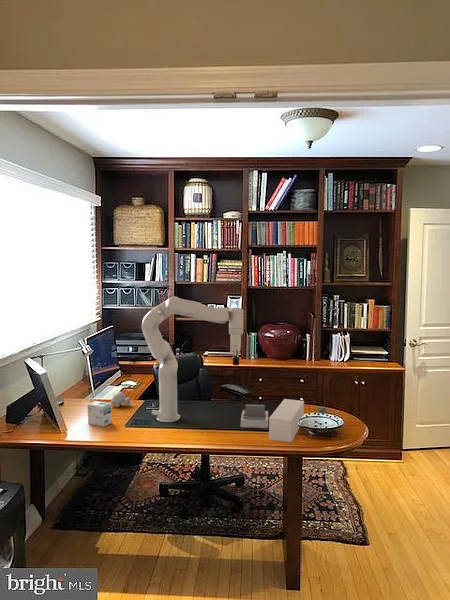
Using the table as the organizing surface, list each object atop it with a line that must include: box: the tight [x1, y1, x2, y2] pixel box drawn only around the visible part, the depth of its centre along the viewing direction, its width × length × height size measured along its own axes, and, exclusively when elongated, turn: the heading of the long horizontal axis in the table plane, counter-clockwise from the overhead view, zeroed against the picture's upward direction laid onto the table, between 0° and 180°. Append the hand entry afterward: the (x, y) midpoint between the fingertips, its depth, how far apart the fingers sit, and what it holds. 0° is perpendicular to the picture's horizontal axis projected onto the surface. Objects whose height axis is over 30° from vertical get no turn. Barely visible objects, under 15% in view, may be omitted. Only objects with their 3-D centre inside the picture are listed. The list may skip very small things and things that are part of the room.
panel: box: [245, 403, 266, 417], centre depth 247 cm, size 10×2×8 cm, turn 84°
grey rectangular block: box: [268, 398, 305, 443], centre depth 237 cm, size 32×11×11 cm, turn 160°
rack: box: [240, 409, 269, 429], centre depth 247 cm, size 14×16×4 cm
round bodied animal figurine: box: [110, 391, 133, 408], centre depth 274 cm, size 7×12×8 cm, turn 84°
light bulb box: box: [87, 400, 113, 428], centre depth 245 cm, size 11×7×11 cm, turn 65°
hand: (235, 364), depth 252 cm, fingers closed
